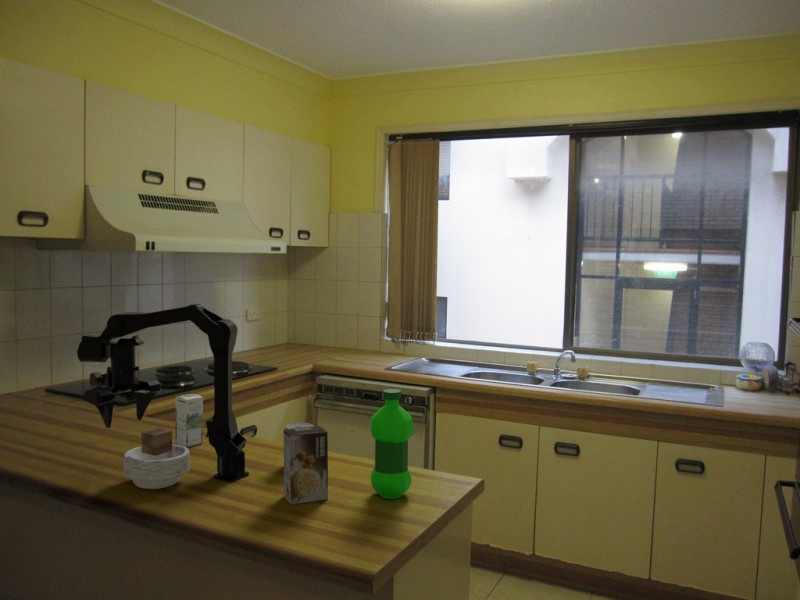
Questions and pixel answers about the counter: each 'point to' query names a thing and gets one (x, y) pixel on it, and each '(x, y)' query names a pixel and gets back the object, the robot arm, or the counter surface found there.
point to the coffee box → (305, 464)
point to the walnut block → (156, 441)
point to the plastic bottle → (391, 447)
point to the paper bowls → (156, 467)
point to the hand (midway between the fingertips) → (124, 423)
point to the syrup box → (189, 420)
